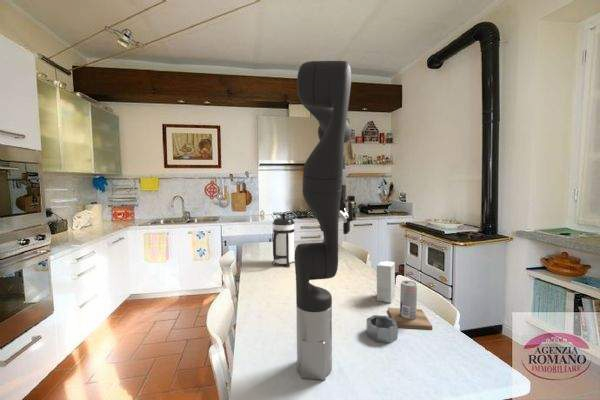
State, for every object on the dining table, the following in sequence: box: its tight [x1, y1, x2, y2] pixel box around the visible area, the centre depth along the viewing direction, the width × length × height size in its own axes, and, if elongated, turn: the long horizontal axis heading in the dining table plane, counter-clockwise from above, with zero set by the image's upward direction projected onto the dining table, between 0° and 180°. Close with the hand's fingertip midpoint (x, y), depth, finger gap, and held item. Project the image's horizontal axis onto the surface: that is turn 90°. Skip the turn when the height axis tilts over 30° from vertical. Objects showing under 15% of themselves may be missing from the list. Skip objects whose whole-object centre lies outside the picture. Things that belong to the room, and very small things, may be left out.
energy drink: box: [399, 280, 418, 320], centre depth 98 cm, size 5×5×12 cm
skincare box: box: [376, 260, 396, 304], centre depth 115 cm, size 8×6×15 cm
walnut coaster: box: [387, 307, 433, 330], centre depth 98 cm, size 12×12×1 cm
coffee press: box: [271, 213, 295, 268], centre depth 162 cm, size 17×16×30 cm
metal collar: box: [365, 314, 399, 344], centre depth 89 cm, size 9×9×4 cm
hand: (334, 232), depth 92 cm, fingers open, 8 cm apart
